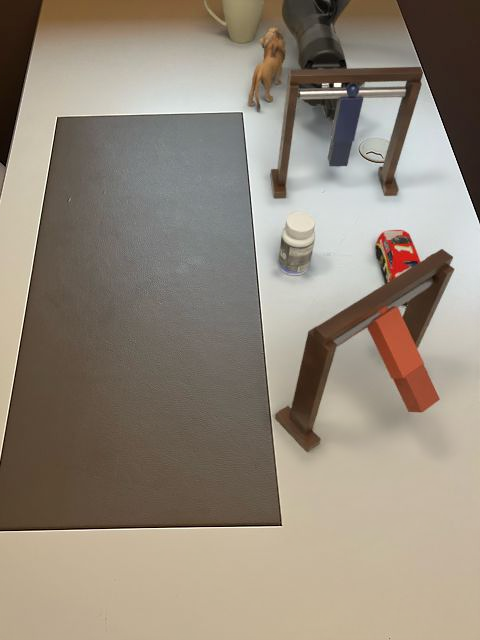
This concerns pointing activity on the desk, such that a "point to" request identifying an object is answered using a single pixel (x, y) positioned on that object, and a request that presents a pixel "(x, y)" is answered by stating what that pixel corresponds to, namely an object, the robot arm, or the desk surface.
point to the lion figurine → (268, 64)
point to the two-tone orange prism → (399, 351)
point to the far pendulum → (347, 114)
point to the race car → (395, 253)
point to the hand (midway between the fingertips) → (335, 115)
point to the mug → (240, 18)
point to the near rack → (321, 337)
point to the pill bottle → (297, 244)
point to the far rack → (347, 76)
